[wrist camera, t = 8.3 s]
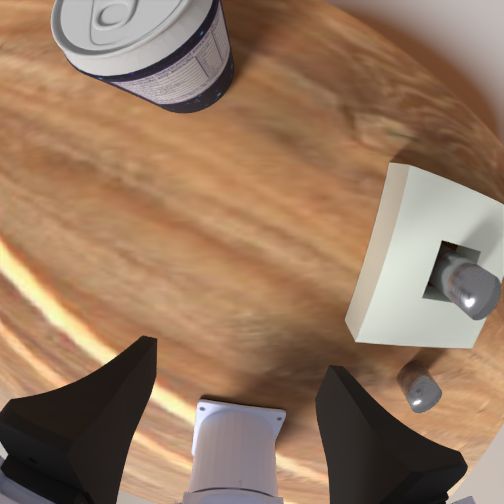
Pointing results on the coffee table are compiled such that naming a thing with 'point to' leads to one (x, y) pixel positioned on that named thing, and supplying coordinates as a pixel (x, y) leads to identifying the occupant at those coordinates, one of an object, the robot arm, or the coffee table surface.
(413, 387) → the short pin
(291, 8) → the coffee table surface
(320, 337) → the coffee table surface
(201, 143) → the coffee table surface
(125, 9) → the beverage can
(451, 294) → the long pin
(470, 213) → the hole block
